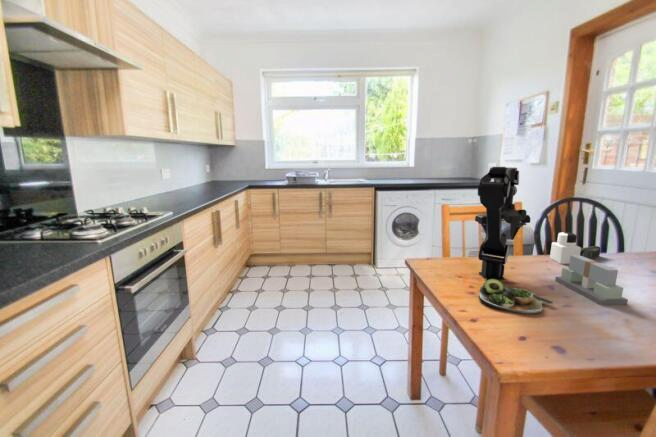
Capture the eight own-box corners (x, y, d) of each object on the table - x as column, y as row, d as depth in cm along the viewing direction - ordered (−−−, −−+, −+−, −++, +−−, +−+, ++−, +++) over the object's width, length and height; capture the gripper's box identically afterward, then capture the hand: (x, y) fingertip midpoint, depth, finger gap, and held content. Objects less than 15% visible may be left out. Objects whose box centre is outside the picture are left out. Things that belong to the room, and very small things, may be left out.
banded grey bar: (605, 286, 92) (608, 270, 91) (568, 269, 106) (570, 255, 105) (615, 285, 92) (618, 270, 91) (577, 268, 106) (579, 255, 105)
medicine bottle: (567, 258, 131) (571, 231, 129) (578, 264, 124) (583, 235, 122) (549, 258, 132) (553, 231, 129) (559, 264, 125) (564, 235, 122)
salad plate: (549, 296, 98) (550, 283, 97) (556, 323, 83) (558, 307, 82) (481, 285, 107) (482, 272, 106) (476, 307, 92) (478, 292, 91)
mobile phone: (594, 244, 134) (575, 249, 127) (602, 246, 131) (584, 250, 125) (592, 255, 135) (573, 260, 128) (600, 257, 132) (582, 262, 126)
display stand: (600, 304, 91) (603, 289, 90) (555, 280, 109) (557, 267, 108) (626, 304, 91) (629, 288, 90) (577, 280, 109) (579, 266, 108)
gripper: (491, 204, 110) (487, 246, 113) (543, 203, 110) (537, 245, 113) (476, 200, 121) (472, 238, 124) (523, 198, 121) (518, 237, 124)
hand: (500, 239), depth 121 cm, fingers open, 9 cm apart
